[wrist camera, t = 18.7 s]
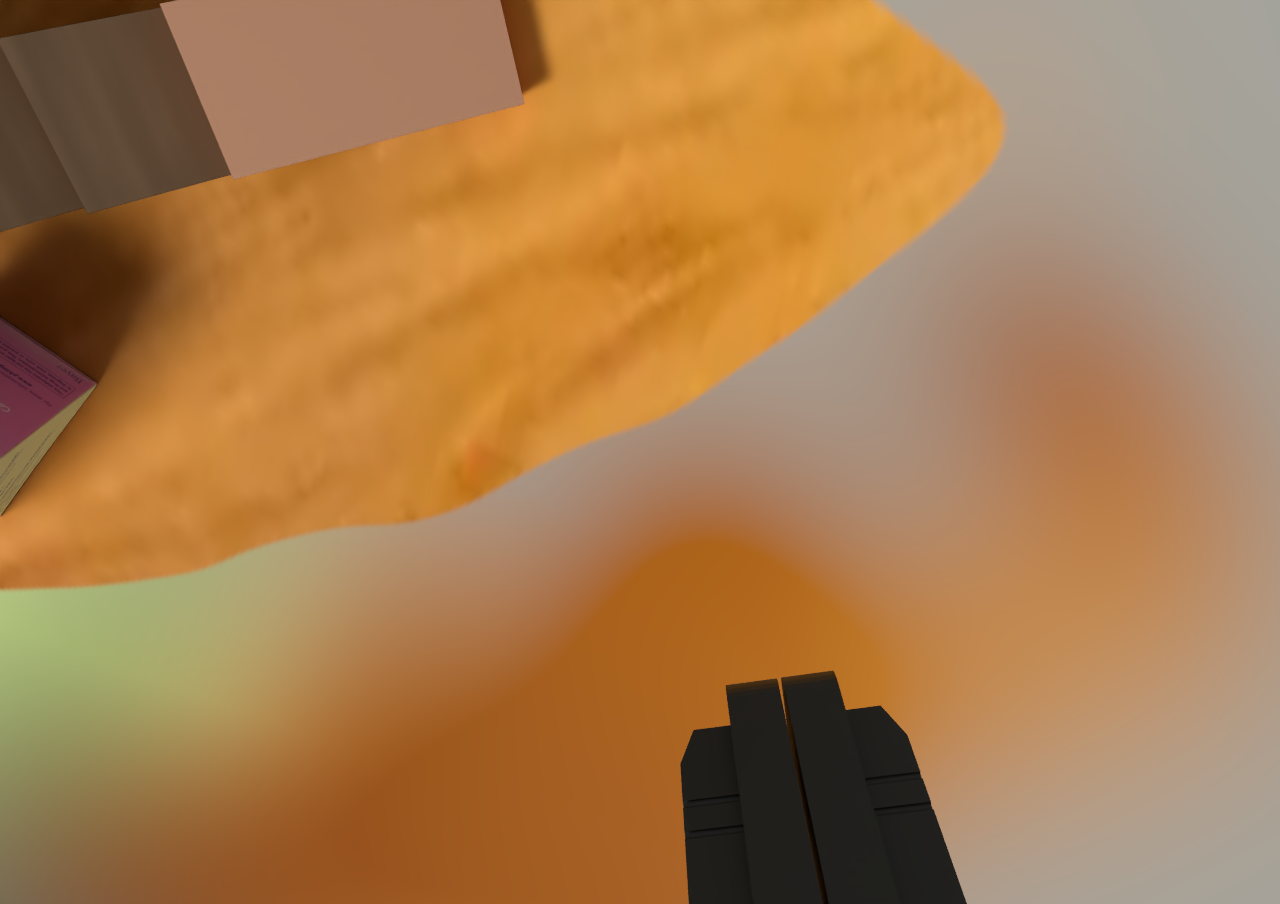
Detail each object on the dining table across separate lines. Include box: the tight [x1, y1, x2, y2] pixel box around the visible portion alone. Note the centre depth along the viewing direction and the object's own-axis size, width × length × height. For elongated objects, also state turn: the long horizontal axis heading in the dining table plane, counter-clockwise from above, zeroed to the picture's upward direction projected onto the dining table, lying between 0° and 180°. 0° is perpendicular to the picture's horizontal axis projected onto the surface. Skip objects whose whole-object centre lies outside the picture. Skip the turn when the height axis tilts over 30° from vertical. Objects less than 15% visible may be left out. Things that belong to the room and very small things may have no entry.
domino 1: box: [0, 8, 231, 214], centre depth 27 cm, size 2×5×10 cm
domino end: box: [160, 0, 524, 179], centre depth 27 cm, size 2×5×10 cm
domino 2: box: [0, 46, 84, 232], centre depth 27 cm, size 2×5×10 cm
